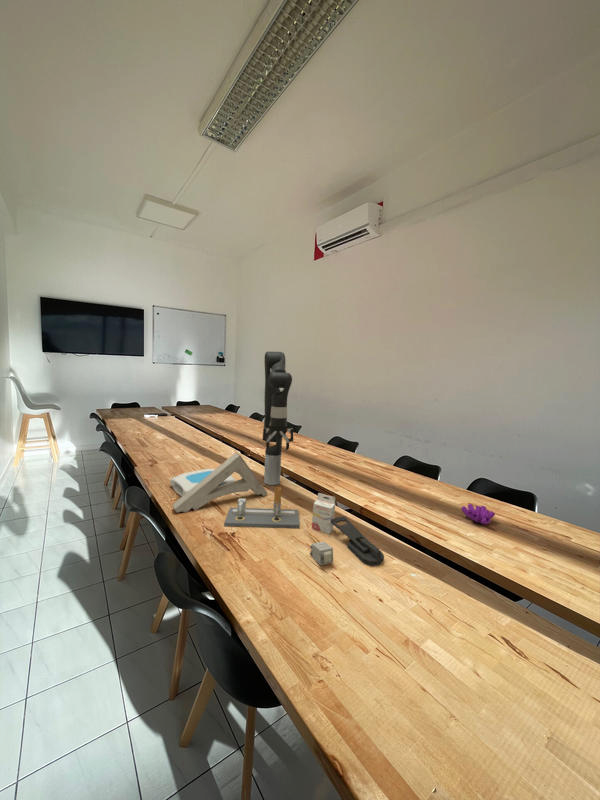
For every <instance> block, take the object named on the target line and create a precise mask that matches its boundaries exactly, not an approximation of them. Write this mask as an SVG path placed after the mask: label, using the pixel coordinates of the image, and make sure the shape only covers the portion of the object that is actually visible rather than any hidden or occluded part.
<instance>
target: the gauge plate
mask: <svg viewBox="0 0 600 800" xmlns="http://www.w3.org/2000/svg"><path fill="white" fill-rule="evenodd" d="M246 500H247V498H238V500H237V507H229V510H228V512H227V515H226V517H225V519H224V523H223V526H224V527H239V528H241V527H242V528H243V527H246V528H250V527H251V528H274V529H275V528H276V529H278V528H280V529H281V528H282V529H300V528H301V527H300V515H299V514H300V513H299V511H300V510H299V509H292V508H291V509H288V508H286V509H285V508H284V509H283V508H281V513H278V518H277V519H276V513H273V510H274V508H257V507H256V508H255V507H254V508H251V507H247V506H246V505H247V501H246Z"/></svg>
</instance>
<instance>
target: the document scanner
mask: <svg viewBox="0 0 600 800" xmlns="http://www.w3.org/2000/svg"><path fill="white" fill-rule="evenodd" d="M215 469H216V468H203V469H198V470H192V471H189V472H184V473H181V474H179V475H176V476H174V477H172V478H170V480H169V481H170V482H169V483H170V484H169V485H170V486H171V487H172V488H173V490H174V492H175V493H176V494H178V495H179V496H180V497H182V496H183V495H185V494H186V493H187V492H188V491H189V490H191V489H192V488H193V487H194V486H196V485H197V484H198V483H199V482H200V481H202V480H203V479H204V478H205V477H207V476H208V475H209V474H210V473H211V472H213V471H214V470H215ZM234 481H236V479H235V477H233V474H232V475H230V476H229V477H228V478H227V479H226V480H224V481H223V482H222V483H221V484H220V486H221V485H224V484H227V483H230V482H234Z"/></svg>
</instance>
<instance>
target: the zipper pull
mask: <svg viewBox="0 0 600 800" xmlns="http://www.w3.org/2000/svg"><path fill="white" fill-rule="evenodd" d="M340 522H341V523H342V522H346V523H345V524H342V525H341V524H340V525H339V524H338V523H340ZM331 523H332V524H333V525H334V527H335V528H337V529H338V530H339V531H340V532H341V533H343V534H344V535H345V536H346V537H347V538H348V539H349V540H348V542H347V549H348V550H349V551H350V552H351V553H352V554H353V555H354V556H355V557H356V558H357V559H358V560H359V561H360V563H362V564H363V565H366V566H368V567H376V566H380V565H381V564H382V563H383V562H384V560H385V555H384V553H383V552H382V550H380V548H379V547H377V546H376V545H375V544H373V543H372V542H371V541H370V540H368V538H366V536H364V535H363V534H362V532H360V531H359V530H358V528H357V527H355V526H354V524H353V523H352V522H351V520H349V519H348V518H347V517H346V516H338V517H334V519H332V520H331Z"/></svg>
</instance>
